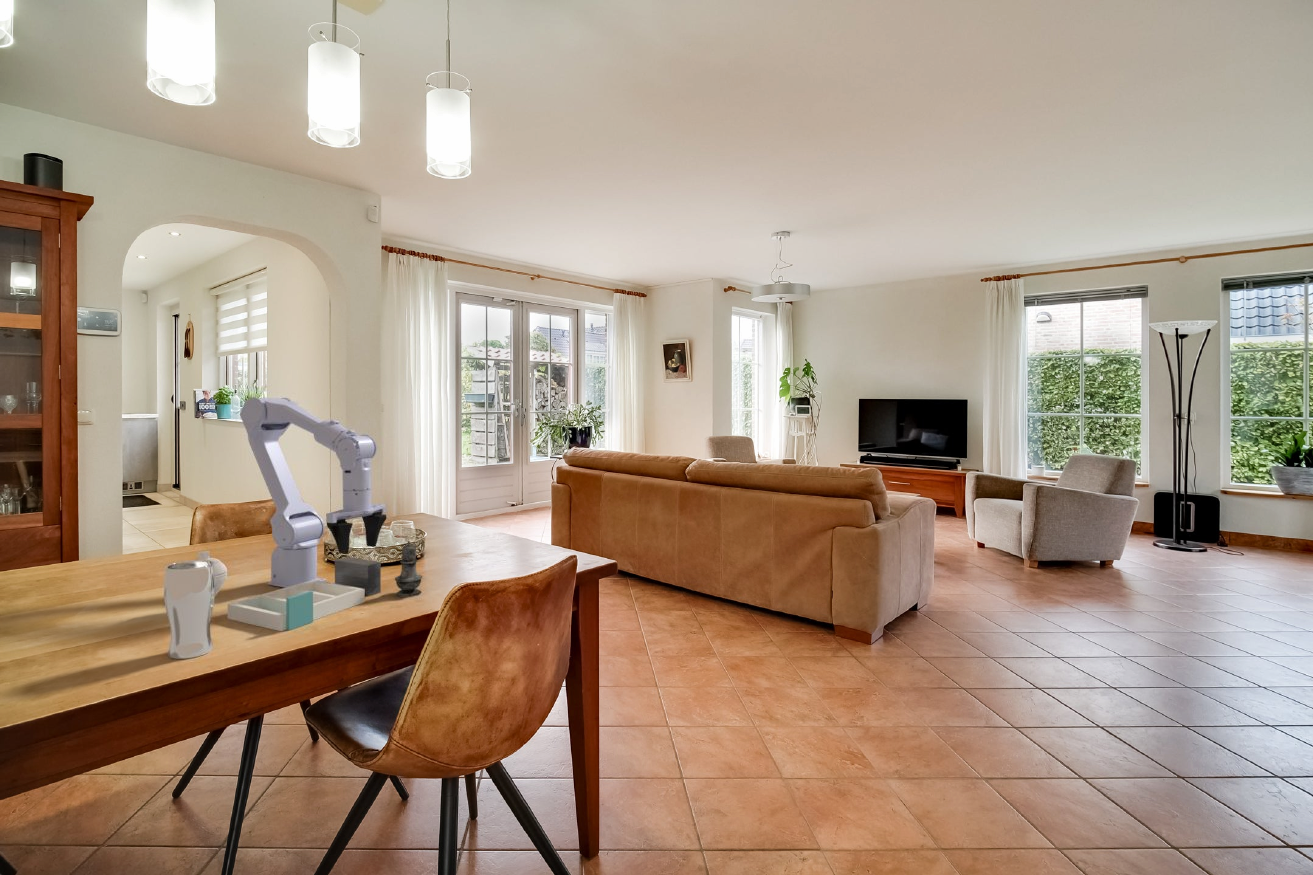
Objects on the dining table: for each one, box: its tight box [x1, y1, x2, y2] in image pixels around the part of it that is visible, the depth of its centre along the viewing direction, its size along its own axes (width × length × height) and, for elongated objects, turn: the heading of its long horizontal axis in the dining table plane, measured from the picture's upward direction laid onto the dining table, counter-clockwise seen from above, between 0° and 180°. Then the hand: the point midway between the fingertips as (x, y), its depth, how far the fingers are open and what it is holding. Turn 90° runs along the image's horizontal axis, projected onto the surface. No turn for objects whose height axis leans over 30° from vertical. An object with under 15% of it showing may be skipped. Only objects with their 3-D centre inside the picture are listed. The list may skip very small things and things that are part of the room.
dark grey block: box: [334, 556, 382, 598], centre depth 141 cm, size 10×4×7 cm, turn 68°
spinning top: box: [195, 550, 228, 597], centre depth 126 cm, size 8×8×12 cm
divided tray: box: [227, 580, 366, 632], centre depth 128 cm, size 16×19×6 cm
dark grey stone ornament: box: [394, 540, 424, 598], centre depth 141 cm, size 6×6×12 cm
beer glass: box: [163, 559, 216, 660], centre depth 106 cm, size 7×7×15 cm
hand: (357, 549), depth 141 cm, fingers open, 7 cm apart
